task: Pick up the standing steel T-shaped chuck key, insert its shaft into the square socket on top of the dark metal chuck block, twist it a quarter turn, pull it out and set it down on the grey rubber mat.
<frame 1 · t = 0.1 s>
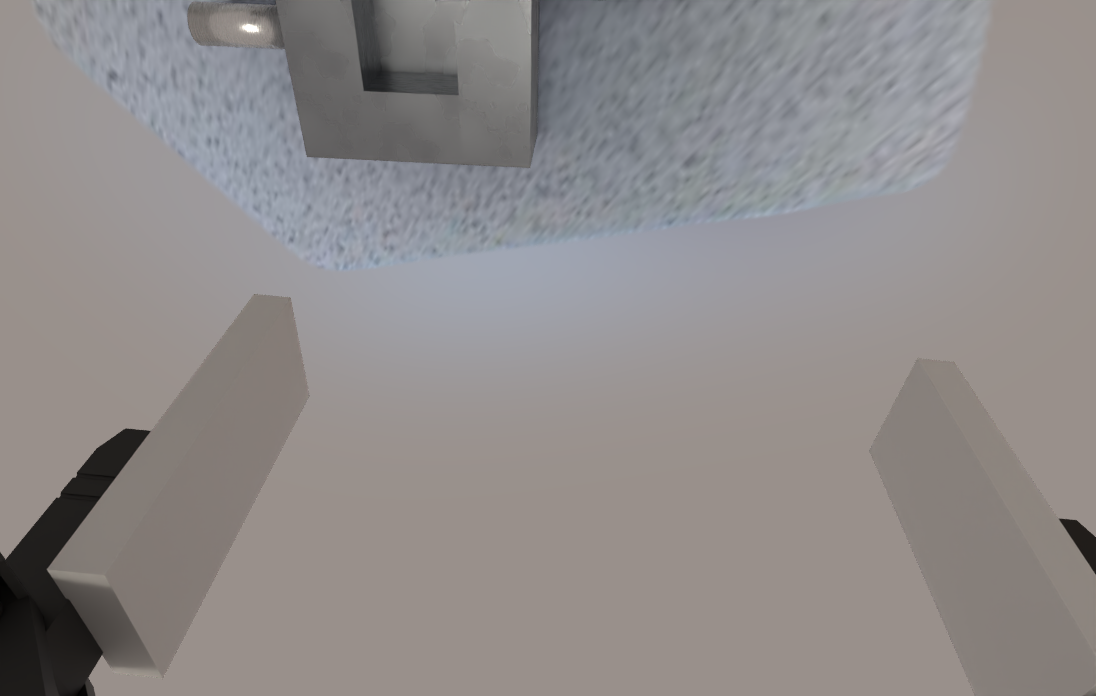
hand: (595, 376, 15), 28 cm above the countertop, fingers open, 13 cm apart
chuck block: (427, 18, 36), on the countertop
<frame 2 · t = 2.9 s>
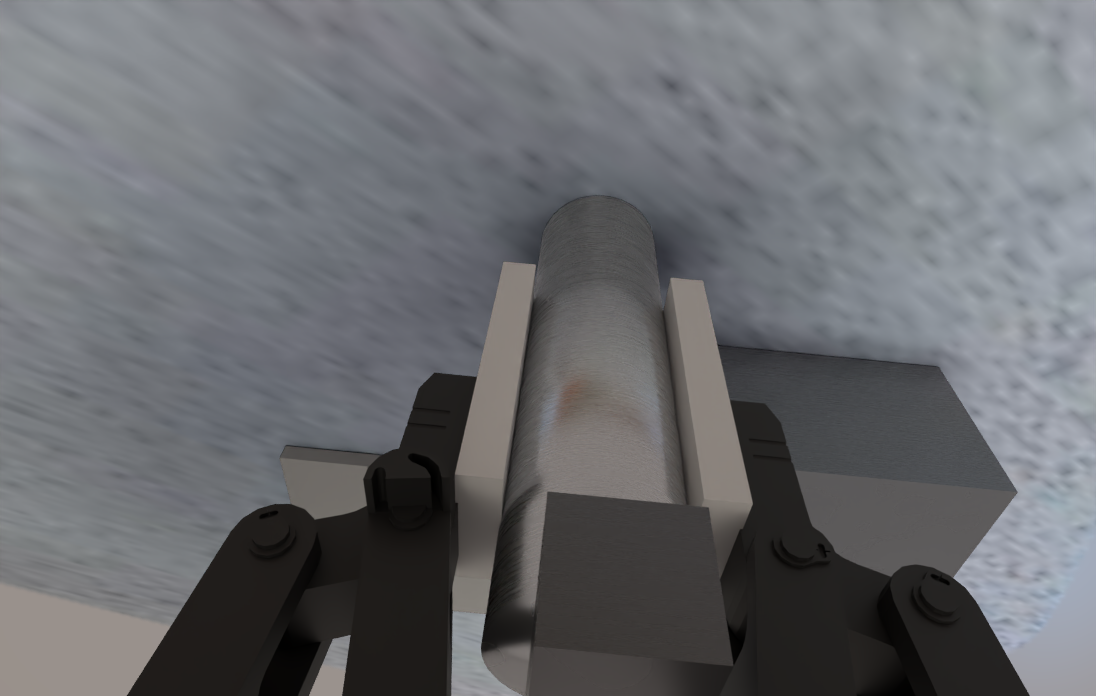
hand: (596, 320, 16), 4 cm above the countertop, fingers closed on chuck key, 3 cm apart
chuck block: (704, 477, 25), on the countertop
mat: (412, 533, 28), on the countertop
chuck key: (597, 248, 19), on the countertop, touching gripper
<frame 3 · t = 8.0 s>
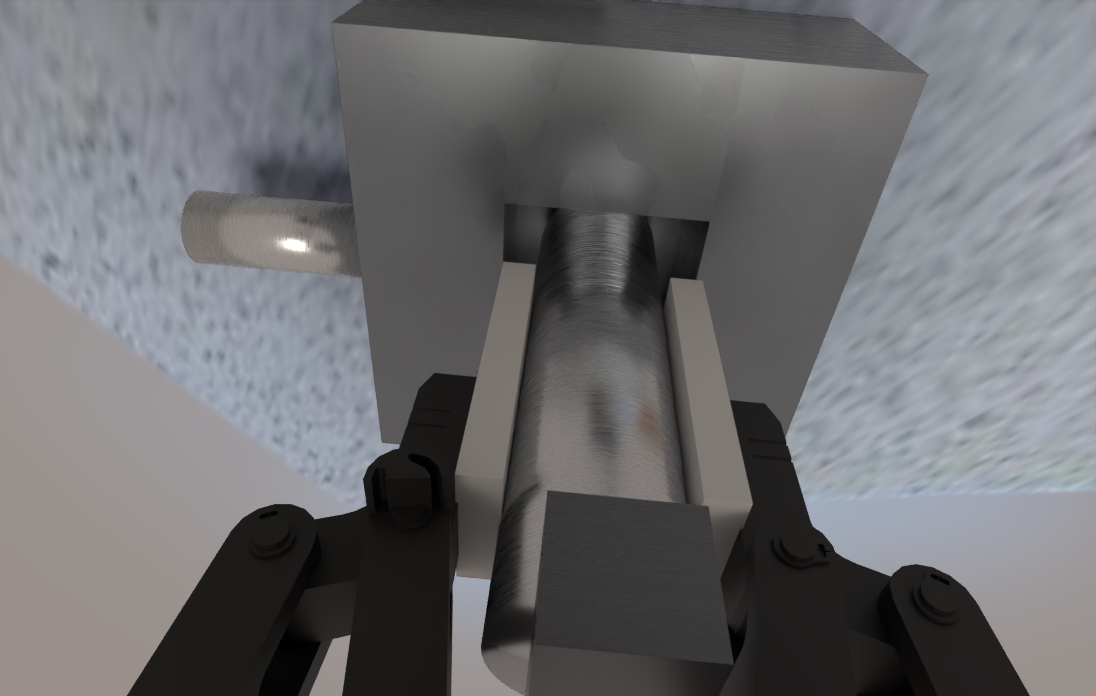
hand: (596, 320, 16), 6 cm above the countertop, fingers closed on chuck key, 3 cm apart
chuck block: (597, 211, 21), on the countertop
chuck key: (597, 247, 19), point 2 cm above the countertop, touching gripper
when the fingers open (5 cm above the countertop, at t = 13.1 s): chuck key stays where it is, resting on mat.
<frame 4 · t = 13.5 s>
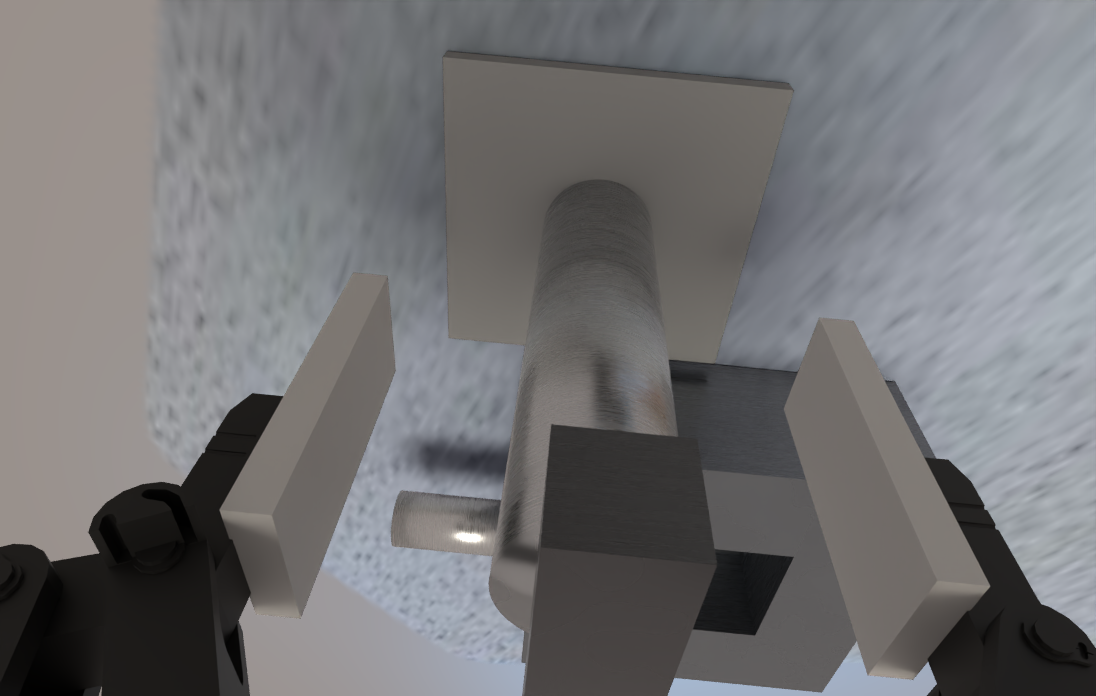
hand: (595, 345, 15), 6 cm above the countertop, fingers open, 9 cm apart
chuck block: (688, 480, 27), on the countertop
mat: (597, 222, 20), on the countertop
chuck key: (597, 230, 20), point 1 cm above the countertop, touching mat
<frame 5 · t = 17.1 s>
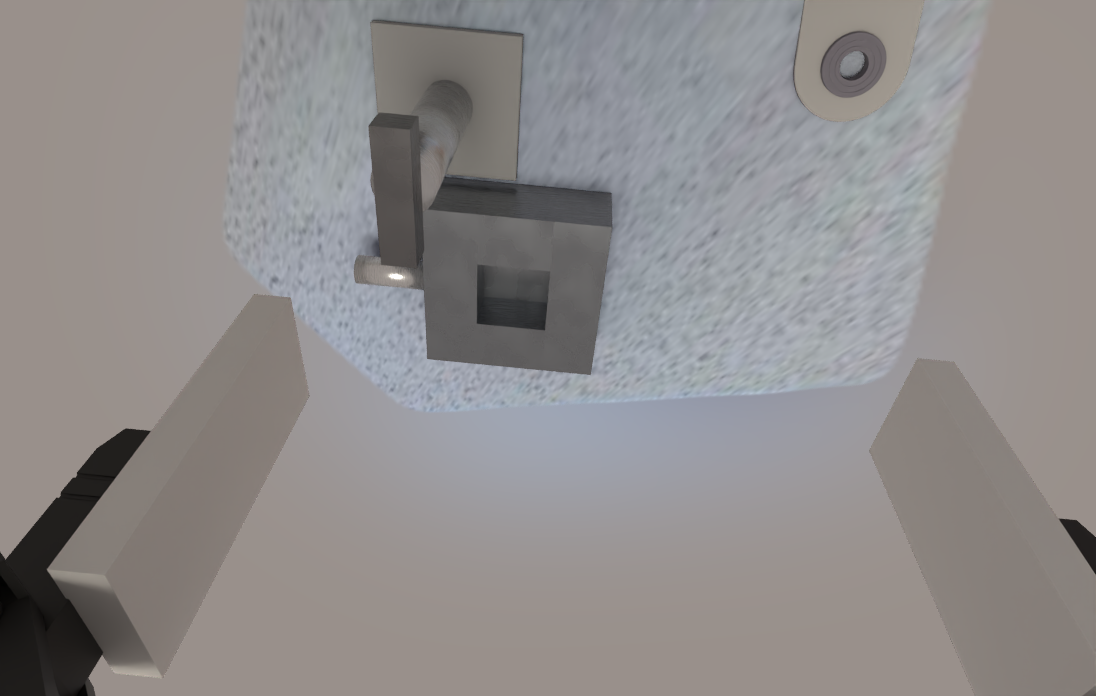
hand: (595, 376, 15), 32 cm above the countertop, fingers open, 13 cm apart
chuck block: (519, 261, 50), on the countertop
mat: (449, 103, 43), on the countertop
chuck key: (447, 106, 42), point 1 cm above the countertop, touching mat
bracket: (861, 17, 39), on the countertop
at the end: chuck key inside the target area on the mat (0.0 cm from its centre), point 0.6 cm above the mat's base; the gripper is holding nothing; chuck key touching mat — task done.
